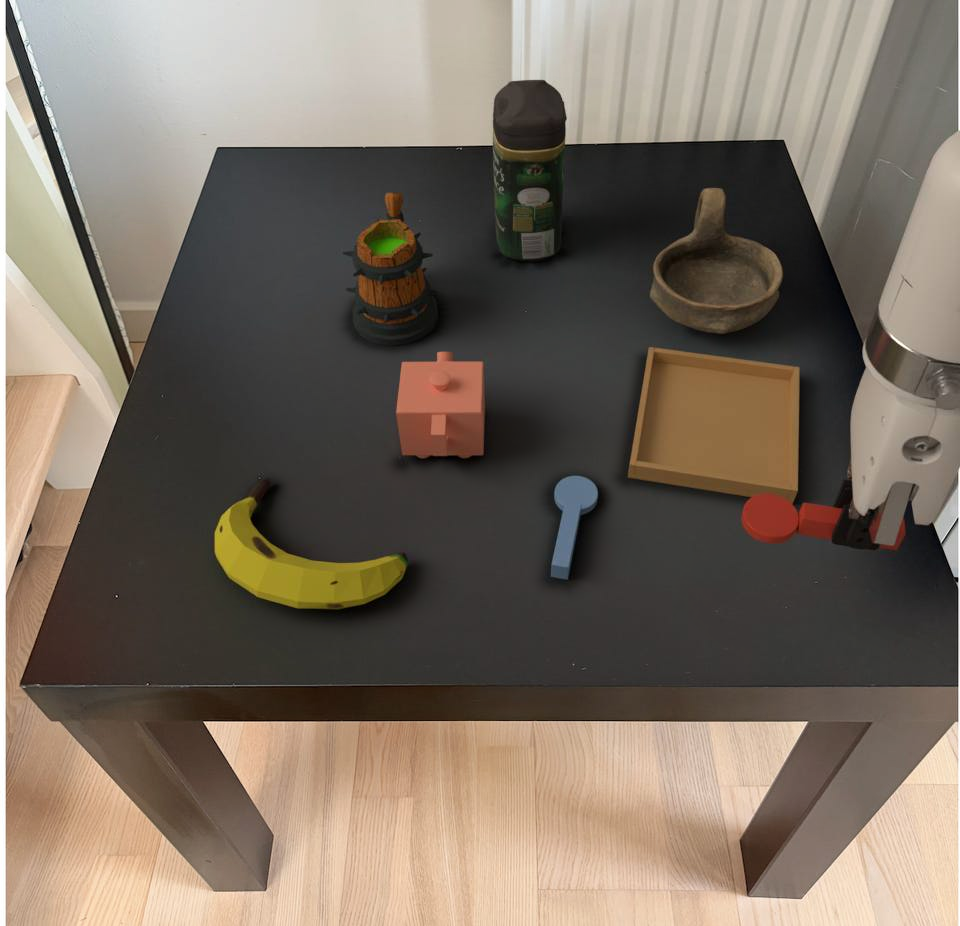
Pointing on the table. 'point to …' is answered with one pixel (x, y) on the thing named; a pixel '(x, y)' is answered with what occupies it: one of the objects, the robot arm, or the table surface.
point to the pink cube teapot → (441, 408)
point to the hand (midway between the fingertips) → (853, 530)
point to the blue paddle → (570, 519)
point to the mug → (391, 281)
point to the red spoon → (793, 520)
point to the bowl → (715, 274)
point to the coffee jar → (528, 169)
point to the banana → (296, 566)
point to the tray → (718, 424)
